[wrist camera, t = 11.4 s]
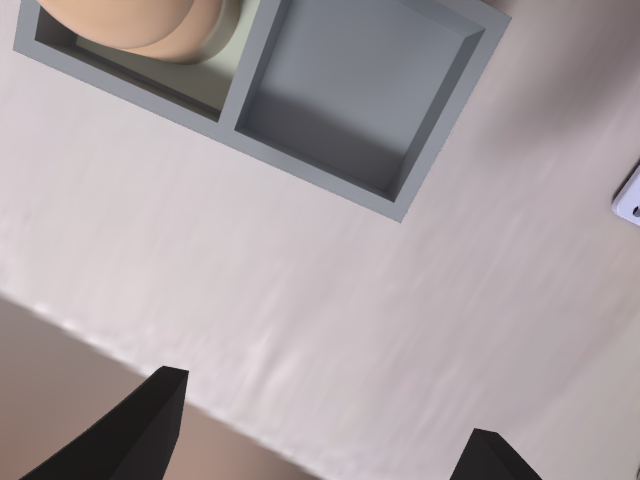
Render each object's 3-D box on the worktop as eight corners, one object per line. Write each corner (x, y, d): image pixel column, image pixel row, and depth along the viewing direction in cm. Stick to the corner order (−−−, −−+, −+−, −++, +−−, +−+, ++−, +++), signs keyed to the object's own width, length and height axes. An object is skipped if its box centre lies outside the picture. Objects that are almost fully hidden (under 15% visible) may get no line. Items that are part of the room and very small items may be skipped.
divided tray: (481, 31, 15) (512, 17, 13) (389, 206, 17) (400, 222, 15) (109, -168, 13) (59, -230, 11) (61, 58, 15) (12, 50, 13)
